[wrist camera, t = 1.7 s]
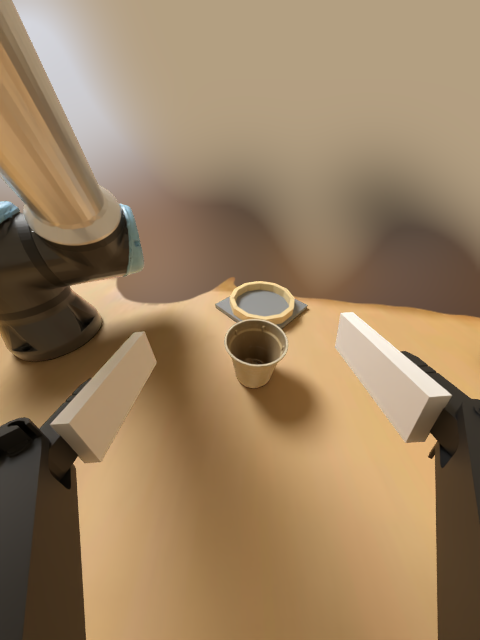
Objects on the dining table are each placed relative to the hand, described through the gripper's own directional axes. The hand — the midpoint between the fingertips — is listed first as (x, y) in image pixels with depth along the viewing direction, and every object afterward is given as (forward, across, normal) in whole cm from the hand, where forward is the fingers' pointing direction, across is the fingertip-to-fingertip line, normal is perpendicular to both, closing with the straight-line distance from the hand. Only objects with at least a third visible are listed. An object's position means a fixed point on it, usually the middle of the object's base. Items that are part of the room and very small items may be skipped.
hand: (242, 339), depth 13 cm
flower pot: (+15, 0, -17) cm, 23 cm away
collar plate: (+33, +4, -13) cm, 35 cm away
